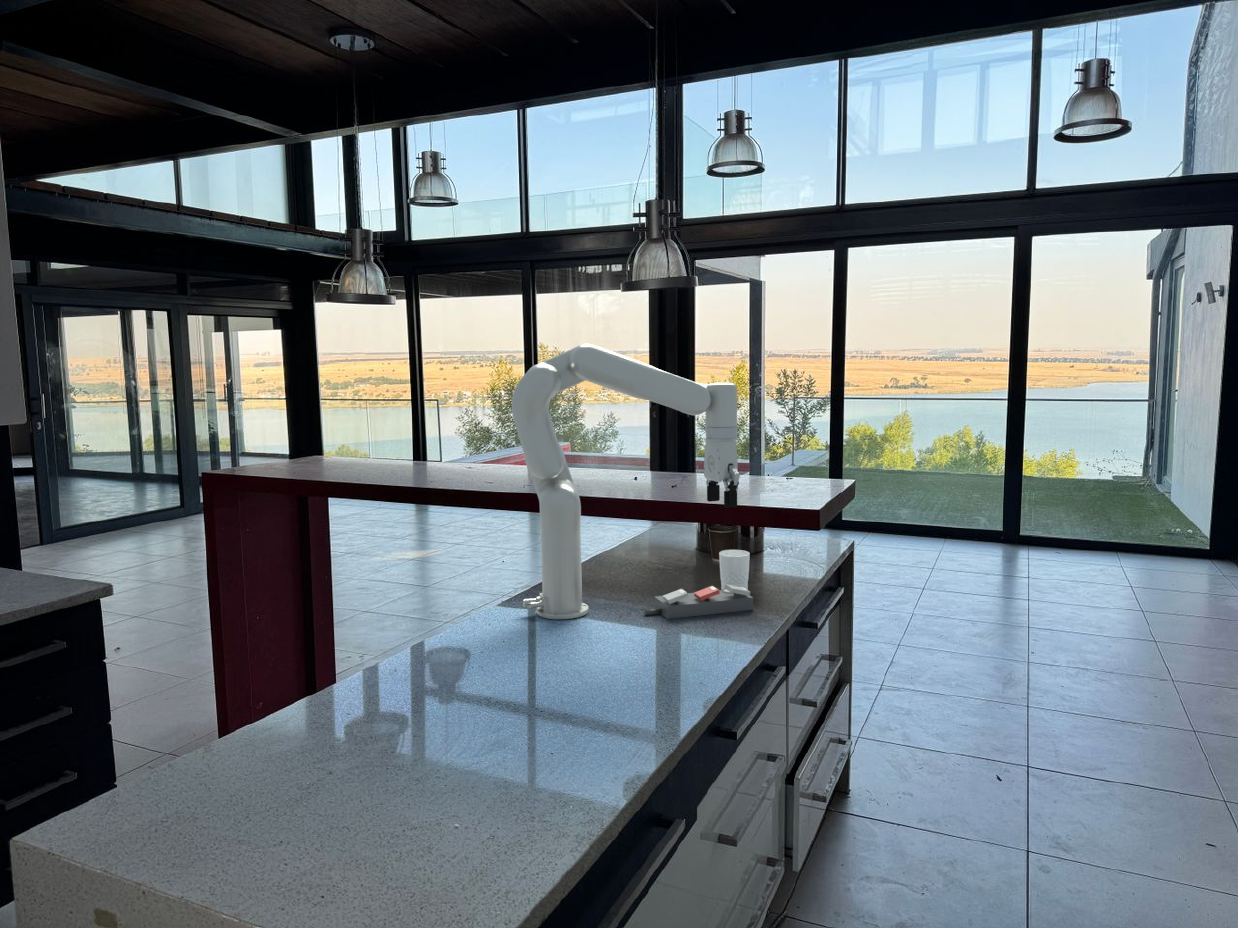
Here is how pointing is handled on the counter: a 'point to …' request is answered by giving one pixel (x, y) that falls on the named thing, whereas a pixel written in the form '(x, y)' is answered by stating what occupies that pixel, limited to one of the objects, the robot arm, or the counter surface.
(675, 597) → the outlet rocker
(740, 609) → the power strip
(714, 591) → the outlet rocker
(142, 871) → the counter surface
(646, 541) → the counter surface
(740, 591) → the rocker outlet
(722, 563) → the white cup
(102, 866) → the counter surface
